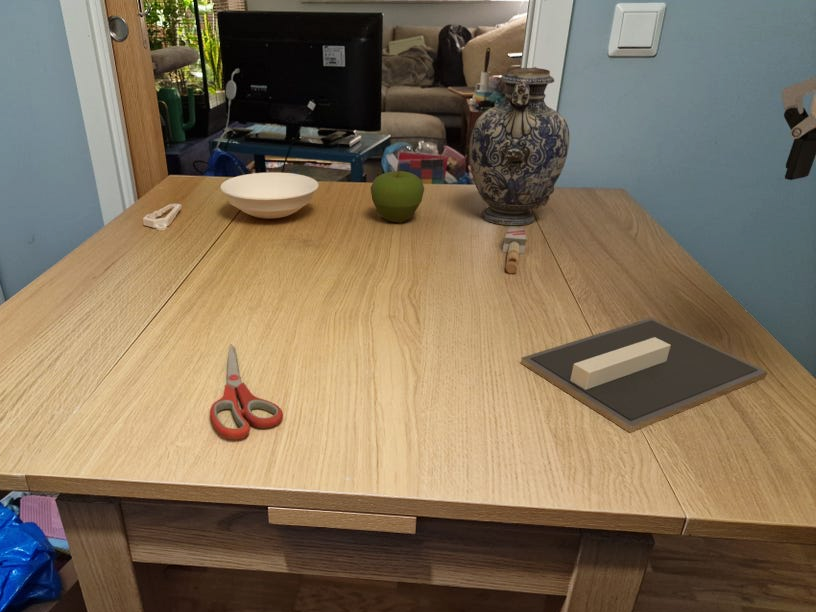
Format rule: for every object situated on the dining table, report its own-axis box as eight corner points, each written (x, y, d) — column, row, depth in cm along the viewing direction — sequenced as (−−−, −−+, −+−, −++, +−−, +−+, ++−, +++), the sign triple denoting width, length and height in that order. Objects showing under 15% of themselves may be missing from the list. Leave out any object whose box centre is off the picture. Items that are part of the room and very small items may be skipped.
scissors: (235, 345, 88) (234, 335, 87) (291, 429, 71) (290, 418, 71) (177, 356, 85) (176, 346, 85) (222, 447, 69) (220, 436, 68)
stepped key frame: (159, 210, 140) (158, 202, 139) (183, 210, 140) (182, 202, 139) (140, 230, 129) (138, 221, 128) (165, 230, 129) (164, 221, 128)
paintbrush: (528, 220, 124) (523, 262, 108) (526, 234, 126) (521, 277, 110) (507, 218, 125) (499, 260, 109) (505, 232, 127) (497, 275, 110)
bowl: (209, 227, 130) (206, 195, 127) (238, 199, 147) (236, 170, 144) (308, 233, 127) (308, 200, 124) (326, 203, 144) (326, 174, 141)
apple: (376, 210, 140) (377, 162, 135) (425, 214, 138) (429, 165, 133) (364, 225, 131) (365, 175, 126) (417, 230, 129) (420, 179, 124)
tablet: (649, 323, 94) (650, 316, 93) (765, 377, 81) (768, 370, 80) (520, 363, 84) (521, 356, 83) (629, 433, 71) (631, 425, 70)
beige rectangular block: (650, 353, 84) (654, 336, 83) (666, 361, 82) (671, 344, 81) (569, 380, 78) (573, 363, 77) (585, 390, 77) (589, 372, 75)
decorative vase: (551, 240, 124) (578, 79, 110) (453, 228, 130) (467, 74, 116) (559, 208, 141) (584, 65, 128) (472, 199, 147) (487, 62, 133)
